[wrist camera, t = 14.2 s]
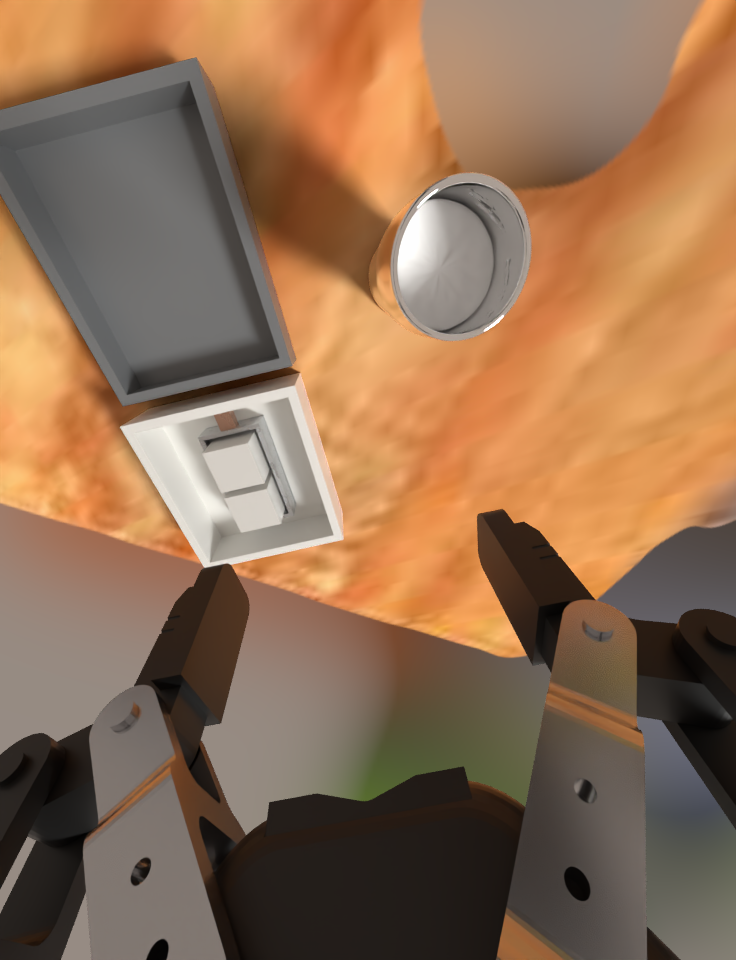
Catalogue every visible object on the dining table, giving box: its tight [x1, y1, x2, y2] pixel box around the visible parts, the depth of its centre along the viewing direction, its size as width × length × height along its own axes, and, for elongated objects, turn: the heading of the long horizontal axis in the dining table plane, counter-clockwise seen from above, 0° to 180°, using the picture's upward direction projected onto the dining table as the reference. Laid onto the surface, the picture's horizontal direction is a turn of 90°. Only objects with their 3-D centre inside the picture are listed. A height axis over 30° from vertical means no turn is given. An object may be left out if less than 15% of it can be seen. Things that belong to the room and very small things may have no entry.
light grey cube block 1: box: [202, 429, 271, 493], centre depth 32 cm, size 4×4×4 cm
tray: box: [0, 57, 296, 406], centre depth 26 cm, size 18×15×3 cm
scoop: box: [198, 411, 296, 518], centre depth 34 cm, size 12×6×2 cm, turn 12°
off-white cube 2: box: [224, 470, 286, 533], centre depth 34 cm, size 4×4×4 cm
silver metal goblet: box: [368, 172, 532, 341], centre depth 22 cm, size 7×7×15 cm
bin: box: [120, 373, 343, 568], centre depth 34 cm, size 16×15×5 cm
